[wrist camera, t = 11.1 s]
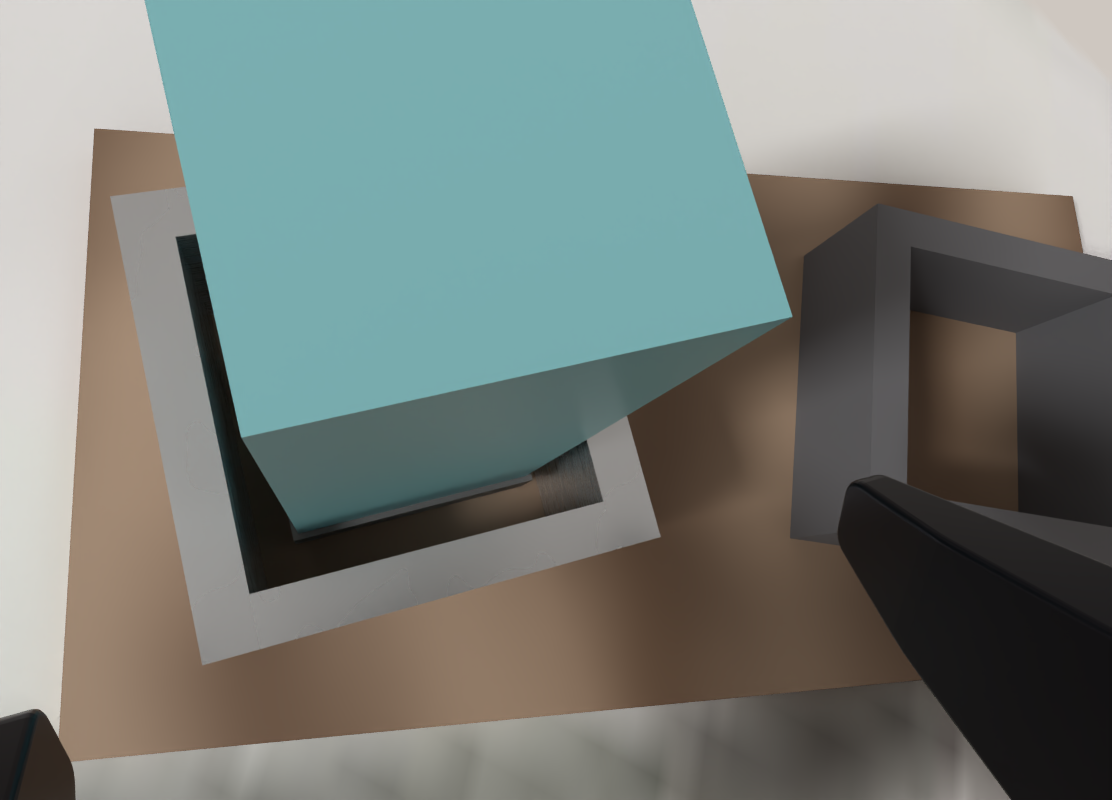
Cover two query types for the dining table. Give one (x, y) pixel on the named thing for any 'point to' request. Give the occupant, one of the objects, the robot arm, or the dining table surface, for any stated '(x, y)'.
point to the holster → (969, 296)
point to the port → (221, 495)
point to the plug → (455, 233)
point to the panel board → (544, 596)
